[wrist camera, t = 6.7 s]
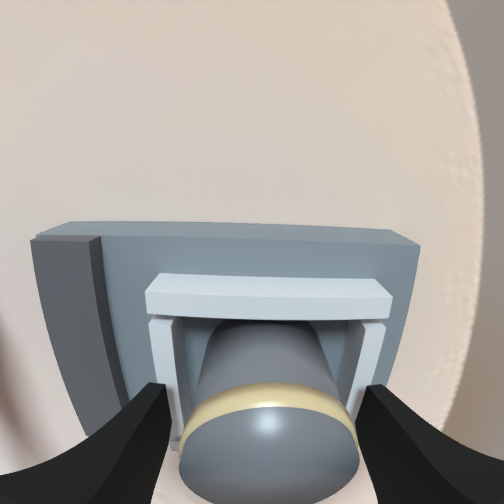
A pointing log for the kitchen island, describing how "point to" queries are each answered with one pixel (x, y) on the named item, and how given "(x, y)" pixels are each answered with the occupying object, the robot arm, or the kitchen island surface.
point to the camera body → (213, 303)
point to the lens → (267, 418)
